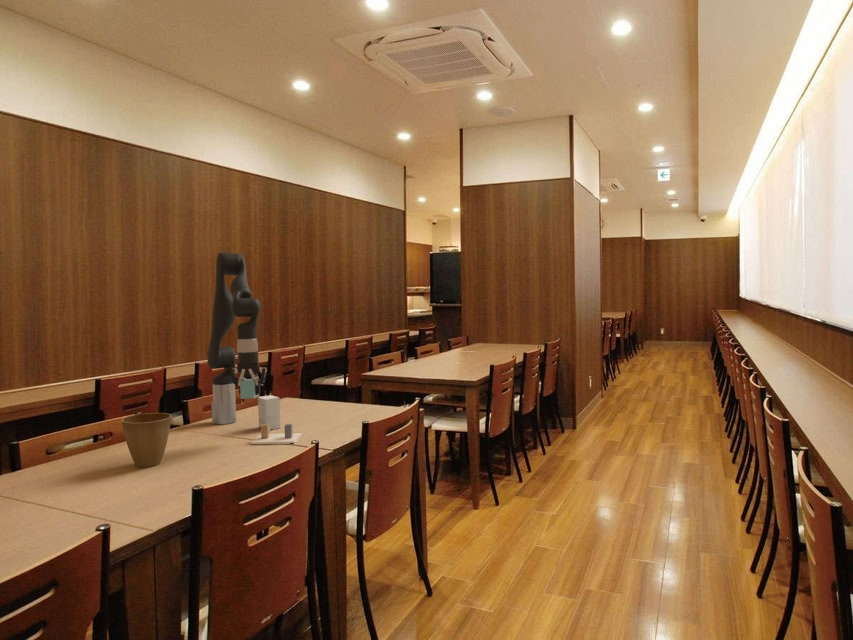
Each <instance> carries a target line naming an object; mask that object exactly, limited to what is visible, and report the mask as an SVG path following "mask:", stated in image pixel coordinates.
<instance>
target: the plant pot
mask: <svg viewBox="0 0 853 640" xmlns="http://www.w3.org/2000/svg"><path fill="white" fill-rule="evenodd" d="M171 421H172V414H170V413H166V412H149V413H138V414H132V415H129V416H125V417H123V418H122V419H121V426H122V430H123V434H124V438H125V442H126V445H127V449H128V451H129V453H130V456H131V459H132V461H133V463H134V465H135V467H136V468H140V467H146V468H148V467H147V466H153V465H156V466H158V465H160V464H161V463H160V462H162V460H163V456H164V455H165V451H166V447H167V443H168V439H169V434H170V428H171V423H172V422H171ZM159 463H160V464H159ZM157 464H158V465H157ZM153 467H154V466H153Z"/></svg>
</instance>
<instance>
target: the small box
mask: <svg viewBox="0 0 853 640" xmlns="http://www.w3.org/2000/svg"><path fill="white" fill-rule="evenodd" d="M257 407H258V408H257V410H258V411H257V413H258V428H259V427H261V425H263V424H269V431H272V430H271V429H273V430H277V429H276V428H278V429H281V403H280V397H279V396H274V395H272V394H271V395H264V396H258V397H257Z"/></svg>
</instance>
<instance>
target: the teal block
mask: <svg viewBox="0 0 853 640" xmlns="http://www.w3.org/2000/svg"><path fill="white" fill-rule="evenodd" d="M239 395H240V399H241V400H242V399H243V400H245V399H247V400H248V399H256V398H258V397H260V395H255V380H253V379H252V378H245V380H243V381H240V394H239Z"/></svg>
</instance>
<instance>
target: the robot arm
mask: <svg viewBox="0 0 853 640" xmlns="http://www.w3.org/2000/svg"><path fill="white" fill-rule="evenodd" d="M247 272H248V271H247V266H246V260H245V257H244V255H242V254H241V253H235V252H234V253H233V252H232V253H231V252H219V253H218V254H217V255H216V260H215V287H214V296H213V297H214V298H213V305H212V306H213V308H212V320H211V332H210V337H209V338H210V339H209V344H208V349H207V350H208V351H207V357H206V358H207V364H208V366H209V367H208V368H209V369H213V370H214V369H215V370H216V369H217V370H218V369H223V370H222V371H221V372H220V373H219V374H217V375H215V376H213V378H212V380H211V381H212V401H211V421H212V422H211V424H212V425H213V424H215V425H227V424H233V423H235V422H236V421H237V409H236V408H237V407H236V406H237V405H236V402H237V401H236V385H237V386H238V394H239V395H240V381H243V380H245V379H247V378H251V379H253V380H255V395H259V394H260V393H261V384H264V383H265V382H266V377H267V372H268V368H267V367H261V365H260V364H259V363H260V362H259V343H258V332H257V326H258V319H259V316H260V312H261V305H262V304H261V302H260V300H259V299H258V298H257V297H253V296H252V291H251V289H250V285H249V283H248V273H247ZM225 276H235V277H234V278H233V279H232V281H231V283H230V287H229V288H230V291H229V289H228V287H227V284H226V279H225ZM236 317H237V318H241V317H242V318H245V317H250V318H249V320H248V321H246V322H241V323H239V324H238V325H237V326H236V327H237V328H236V330H237V331H236V333H237V336H236V337H237V345H236V347H237V348H236V351H237V366H236V352H235V349H234V348H233V347H232V346H230V345H229V346H222V345H221V344H222V342H223V338H224V337H225V336H226V334H227V333H228V332H229V330H230V329H231V328H232V326H233V324H234V323H235V320H236ZM258 372H260V378H259V375H258ZM238 373H239V374H240V375H239V378H238ZM259 396H260V395H259Z"/></svg>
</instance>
